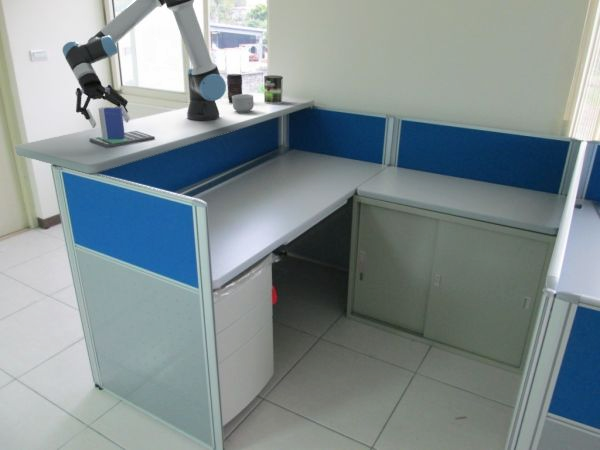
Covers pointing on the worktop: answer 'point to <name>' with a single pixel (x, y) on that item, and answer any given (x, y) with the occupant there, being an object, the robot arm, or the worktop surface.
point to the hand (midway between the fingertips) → (111, 123)
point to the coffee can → (273, 89)
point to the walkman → (111, 123)
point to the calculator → (129, 139)
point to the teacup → (242, 102)
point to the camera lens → (234, 85)
